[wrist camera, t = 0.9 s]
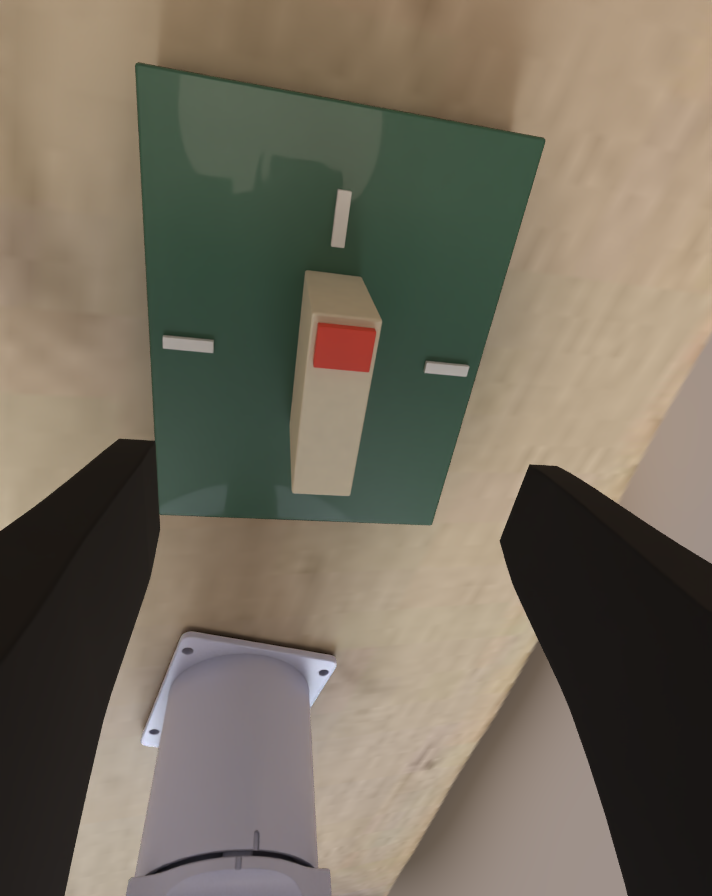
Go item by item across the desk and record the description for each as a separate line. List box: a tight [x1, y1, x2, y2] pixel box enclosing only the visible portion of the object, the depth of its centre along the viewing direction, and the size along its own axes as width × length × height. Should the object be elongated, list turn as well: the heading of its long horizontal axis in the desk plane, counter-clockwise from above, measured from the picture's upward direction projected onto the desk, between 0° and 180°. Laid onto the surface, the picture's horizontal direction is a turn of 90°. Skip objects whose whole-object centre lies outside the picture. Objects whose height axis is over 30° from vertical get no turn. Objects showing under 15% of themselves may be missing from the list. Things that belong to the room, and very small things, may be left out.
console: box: [135, 62, 545, 525], centre depth 17 cm, size 13×10×3 cm
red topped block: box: [289, 270, 382, 496], centre depth 14 cm, size 5×2×4 cm, turn 171°
